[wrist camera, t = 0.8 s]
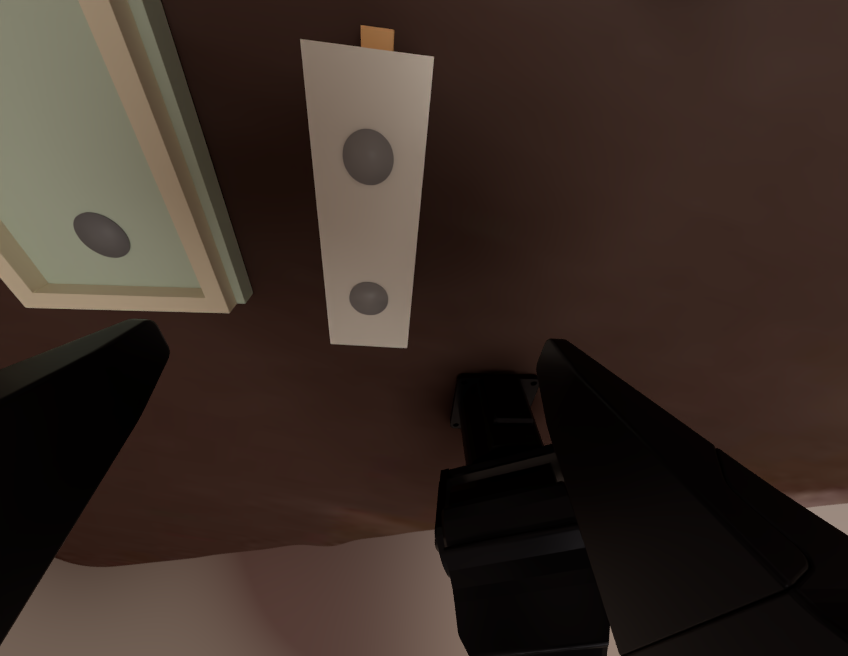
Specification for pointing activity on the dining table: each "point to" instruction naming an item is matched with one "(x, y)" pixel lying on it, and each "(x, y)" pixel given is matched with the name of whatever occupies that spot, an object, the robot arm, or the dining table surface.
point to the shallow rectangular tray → (107, 165)
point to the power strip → (367, 180)
